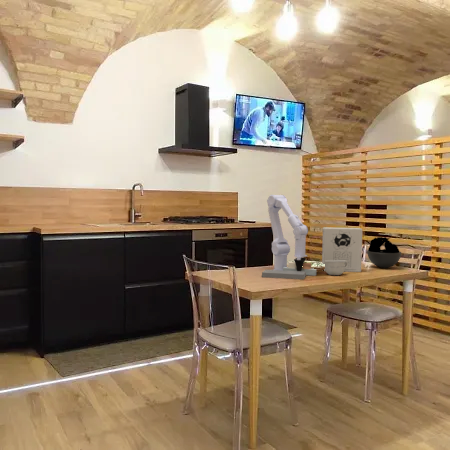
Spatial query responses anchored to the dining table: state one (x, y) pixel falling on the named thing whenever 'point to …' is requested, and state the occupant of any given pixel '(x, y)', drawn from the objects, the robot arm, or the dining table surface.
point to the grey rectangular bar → (308, 271)
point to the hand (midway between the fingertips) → (299, 271)
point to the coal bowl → (383, 252)
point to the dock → (284, 274)
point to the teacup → (335, 266)
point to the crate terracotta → (306, 265)
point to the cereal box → (343, 247)
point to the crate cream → (291, 265)
